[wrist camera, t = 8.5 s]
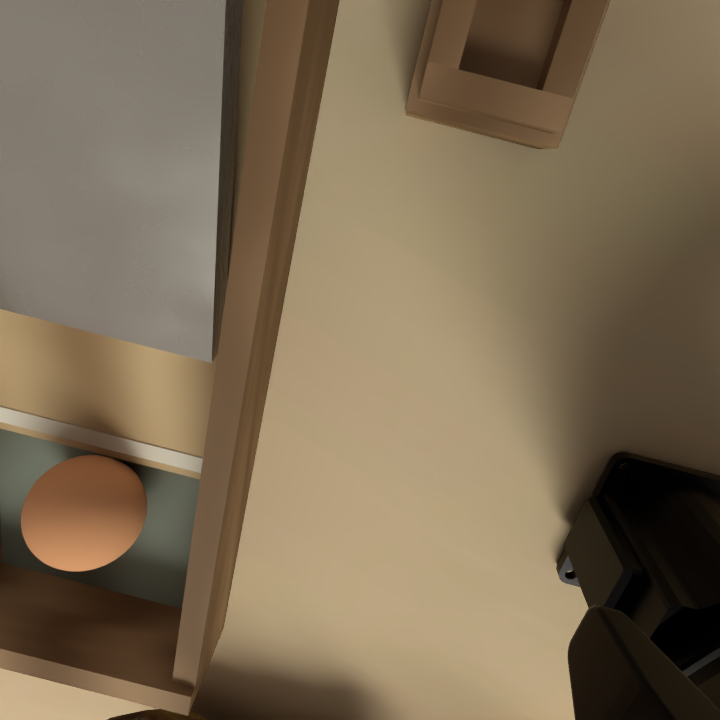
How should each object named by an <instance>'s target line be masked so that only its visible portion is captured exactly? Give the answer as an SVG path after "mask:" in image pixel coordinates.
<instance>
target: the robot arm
mask: <svg viewBox="0 0 720 720" xmlns="http://www.w3.org/2000/svg"><path fill="white" fill-rule="evenodd" d="M624 463H628V466H627V467H625V468H623V469H619V467H620V466H621V465H622V464H624ZM564 546H565V550H564V552H563V554H562V556H561V558H560V560H559V562H558V564H557V568H556V569H557V572H558V575H559V578H560V580H561V581H562V582H564V583H567V584H571V585H575V586H579V587H581V589H582V592H583V595H584V597H585V600H586V602H587V605H588V607H589V609H588V610H587V612H586V614H585V616H584V617H583V619H582V621H581V623H580V625H579V626H578V628H577V630H576V632H575V634H574V635H573V637H572V639H571V641H570V644H569V648H568V665H569V673H570V681H571V689H572V698H573V706H574V714H575V720H720V476H717V475H713V474H710V473H706V472H702V471H698V470H694V469H690V468H686V467H682V466H678V465H674V464H670V463H666V462H663V461H659V460H655V459H651V458H647V457H643V456H639V455H635V454H631V453H627V452H620V453H617V454H615V455H613V456H612V457H611V459H610V460H609V462H608V464H607V466H606V468H605V470H604V472H603V474H602V476H601V478H600V480H599V482H598V484H597V486H596V488H595V490H594V492H593V494H592V495H591V496H590V497H589V498H587V499H586V501H585V503H584V505H583V507H582V509H581V511H580V513H579V515H578V517H577V519H576V521H575V523H574V525H573V527H572V529H571V531H570V533H569V535H568V537H567V539H566V541H565V544H564ZM569 570H573V571H572V572H567V571H569Z"/></svg>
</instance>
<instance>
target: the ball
mask: <svg viewBox="0 0 720 720" xmlns="http://www.w3.org/2000/svg"><path fill="white" fill-rule="evenodd" d="M146 515H147V497H146V492H145V489H144V486H143V484H142V482H141V480H140V479H139V477H138V476H137V474H136V473H135V472H134V471H133V470H132V469H131V468H129V467H128V466H127V465H125V464H124V463H122V462H120V461H118V460H116V459H114V458H110V457H106V456H100V455H85V456H78V457H75V458H71V459H68V460H65V461H63V462H61V463H59V464H57V465H55V466H54V467H52V468H51V469H49V470H48V471H46V472H45V473H44V474H43V475H42V476H41V477H40V478H39V479H38V480H37V481H36V482H35V483H34V485H33V486H32V488H31V490H30V491H29V493H28V494H27V497H26V499H25V501H24V504H23V508H22V513H21V528H22V534H23V537H24V540H25V542H26V544H27V546H28V548H29V549H30V550H31V552H32V553H33V554H34V555H35V556H36V557H37V558H38V559H39V560H41V561H42V562H43V563H45V564H47V565H49V566H51V567H53V568H56V569H60V570H64V571H87V570H92V569H96V568H99V567H102V566H104V565H106V564H108V563H110V562H112V561H114V560H116V559H117V558H118V557H120V556H121V555H122V554H124V553H125V552H126V551H127V550H128V549H129V548H130V547H131V546H132V545H133V543H134V542H135V541H136V539H137V538H138V536H139V534H140V532H141V531H142V528H143V526H144V523H145V520H146Z"/></svg>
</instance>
